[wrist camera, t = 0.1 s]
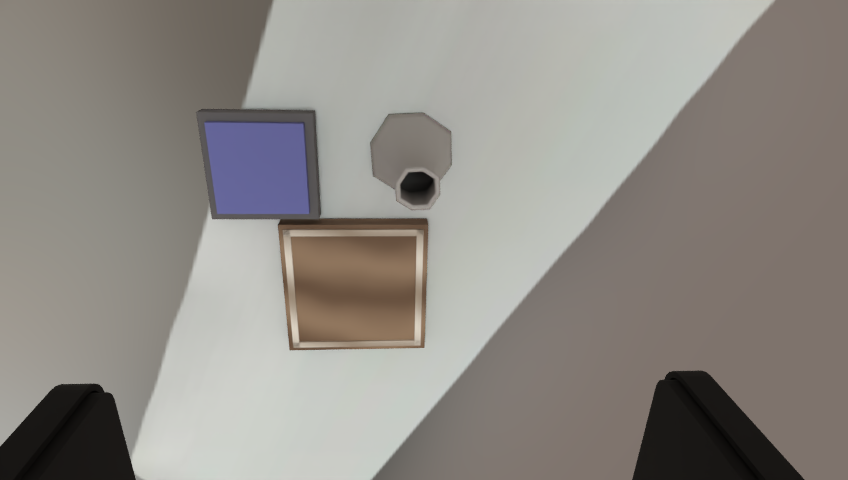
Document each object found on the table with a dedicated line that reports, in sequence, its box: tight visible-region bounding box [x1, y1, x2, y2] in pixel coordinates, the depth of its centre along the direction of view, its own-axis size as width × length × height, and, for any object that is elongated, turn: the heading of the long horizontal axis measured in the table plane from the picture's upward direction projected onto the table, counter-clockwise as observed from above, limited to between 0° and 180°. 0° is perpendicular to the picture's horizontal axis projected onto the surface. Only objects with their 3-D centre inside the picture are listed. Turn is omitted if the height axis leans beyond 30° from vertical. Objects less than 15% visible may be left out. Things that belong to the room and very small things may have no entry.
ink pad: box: [196, 109, 321, 219], centre depth 43 cm, size 9×9×2 cm
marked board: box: [278, 219, 428, 350], centre depth 48 cm, size 13×13×2 cm
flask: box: [370, 113, 452, 210], centre depth 40 cm, size 7×7×10 cm
